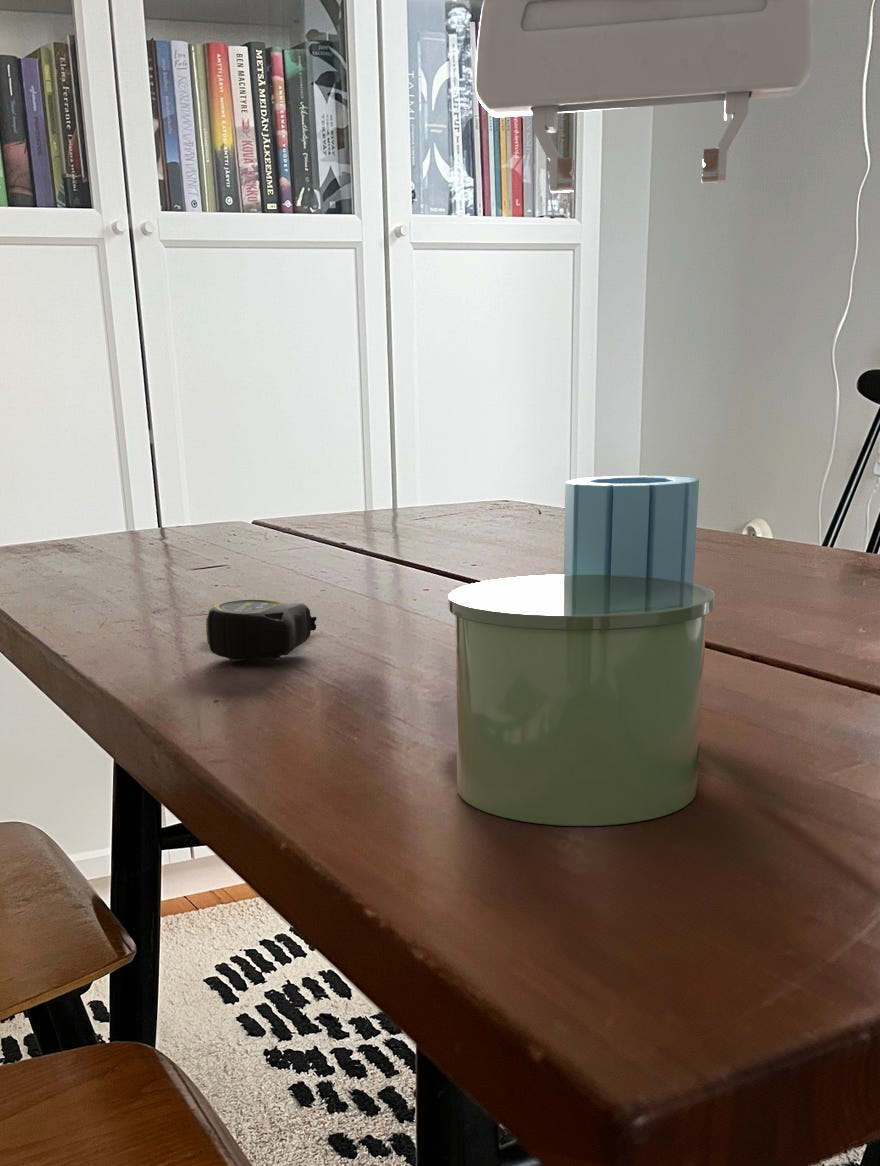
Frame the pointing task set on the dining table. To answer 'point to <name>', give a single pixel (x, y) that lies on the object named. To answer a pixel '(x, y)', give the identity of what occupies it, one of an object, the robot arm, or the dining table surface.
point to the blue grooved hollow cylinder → (631, 526)
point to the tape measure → (257, 628)
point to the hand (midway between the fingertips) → (636, 187)
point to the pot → (579, 696)
